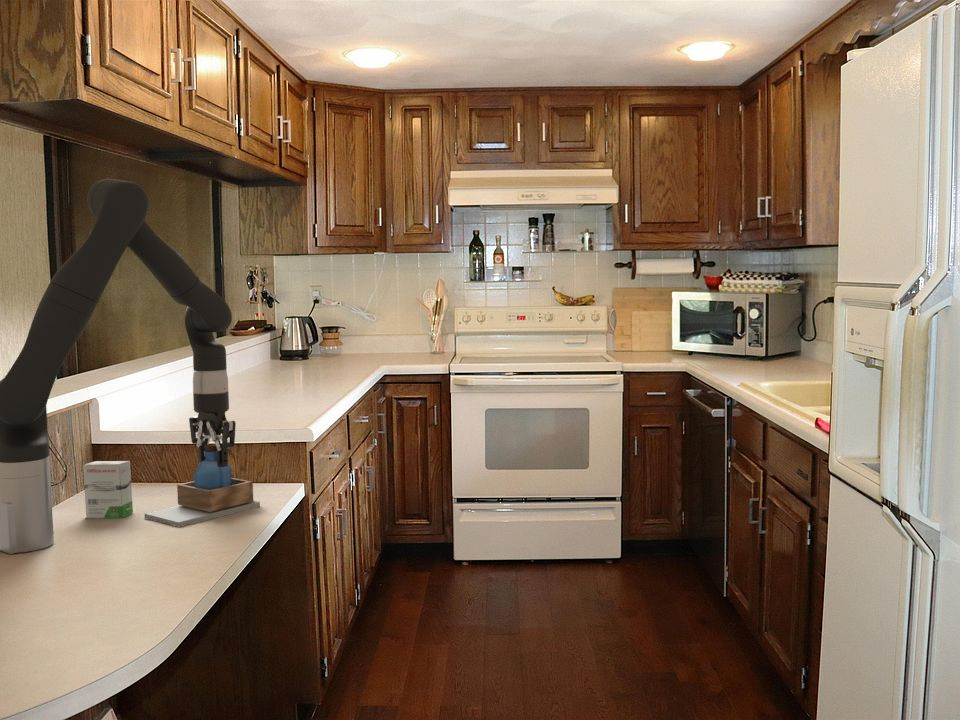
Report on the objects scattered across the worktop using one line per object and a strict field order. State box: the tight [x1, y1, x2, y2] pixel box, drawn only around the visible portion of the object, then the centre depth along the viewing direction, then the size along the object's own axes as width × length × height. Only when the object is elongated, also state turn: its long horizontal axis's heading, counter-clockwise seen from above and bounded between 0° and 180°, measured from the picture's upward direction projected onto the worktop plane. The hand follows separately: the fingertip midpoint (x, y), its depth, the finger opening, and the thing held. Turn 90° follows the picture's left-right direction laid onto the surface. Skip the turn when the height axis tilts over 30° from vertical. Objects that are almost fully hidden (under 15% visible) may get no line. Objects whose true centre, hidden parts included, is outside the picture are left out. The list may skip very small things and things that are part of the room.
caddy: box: [176, 477, 254, 512], centre depth 194 cm, size 12×12×4 cm
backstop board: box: [144, 482, 261, 527], centre depth 192 cm, size 21×12×5 cm, turn 143°
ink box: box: [82, 460, 134, 519], centre depth 190 cm, size 9×5×12 cm, turn 84°
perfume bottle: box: [193, 443, 232, 490], centre depth 194 cm, size 6×6×12 cm
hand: (213, 464), depth 193 cm, fingers open, 6 cm apart
